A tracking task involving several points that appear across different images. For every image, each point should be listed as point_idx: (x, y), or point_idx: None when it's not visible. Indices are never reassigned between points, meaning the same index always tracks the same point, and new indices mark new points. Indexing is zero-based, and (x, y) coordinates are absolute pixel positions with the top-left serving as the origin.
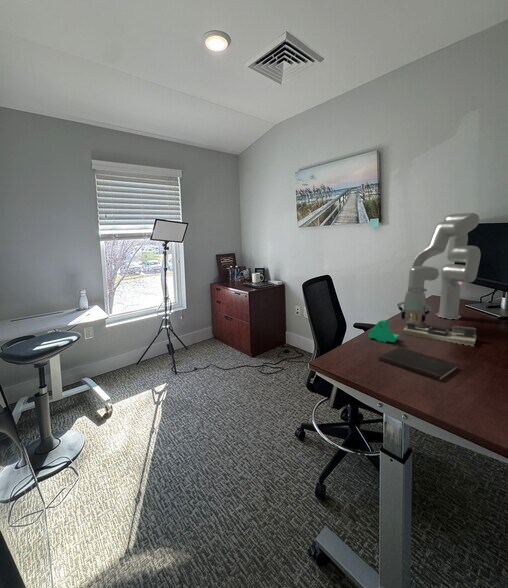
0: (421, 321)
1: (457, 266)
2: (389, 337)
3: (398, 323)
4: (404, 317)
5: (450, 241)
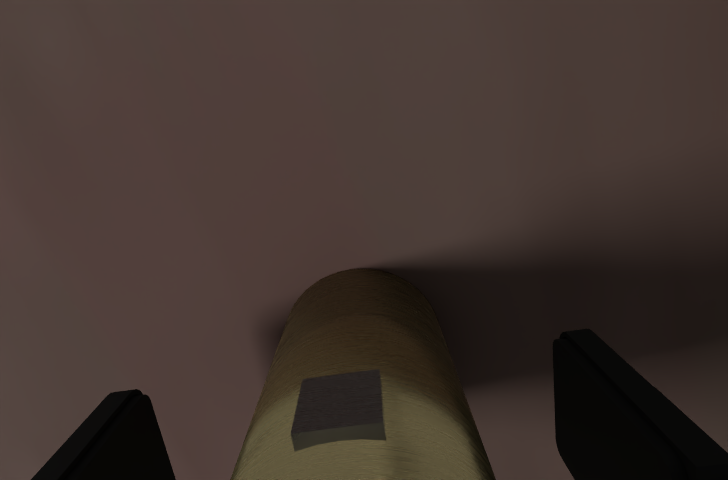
0: (567, 459)
1: None
2: None
3: None
4: (145, 456)
5: None
